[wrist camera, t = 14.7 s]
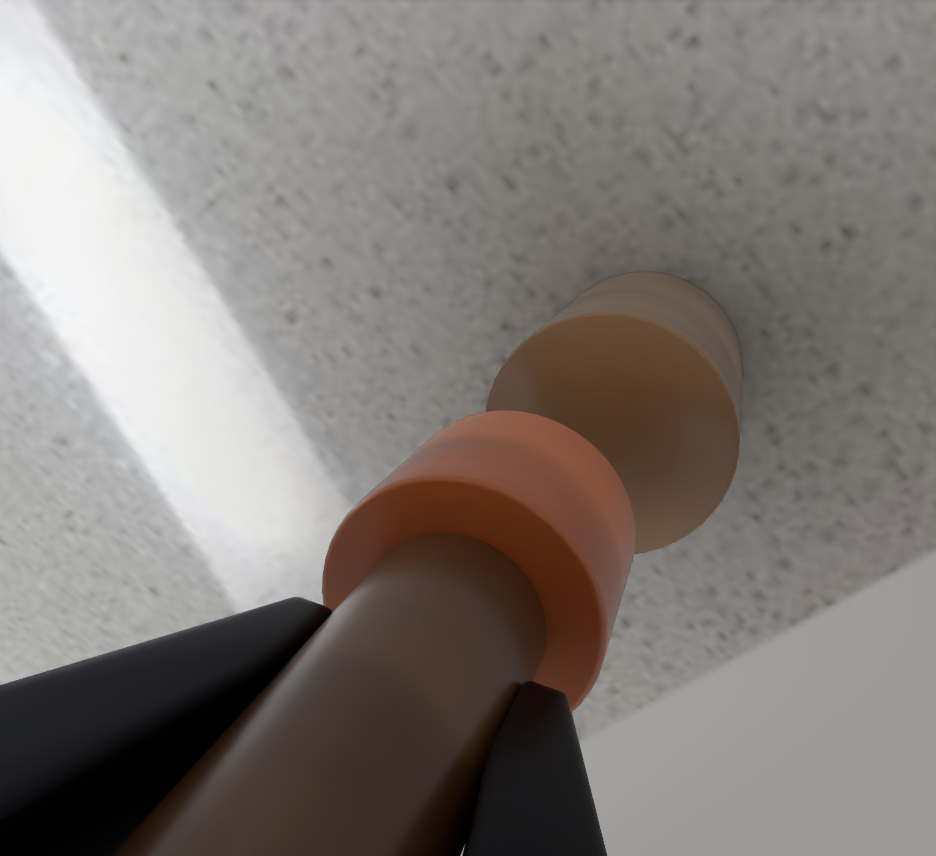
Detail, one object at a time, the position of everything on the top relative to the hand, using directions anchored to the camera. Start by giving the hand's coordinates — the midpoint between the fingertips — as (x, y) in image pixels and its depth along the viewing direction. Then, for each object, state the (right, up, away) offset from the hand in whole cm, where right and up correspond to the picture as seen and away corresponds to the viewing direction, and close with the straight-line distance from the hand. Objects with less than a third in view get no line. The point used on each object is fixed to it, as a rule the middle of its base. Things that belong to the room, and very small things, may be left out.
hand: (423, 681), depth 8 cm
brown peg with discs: (+1, +1, +3) cm, 4 cm away
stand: (+4, +4, +11) cm, 13 cm away
